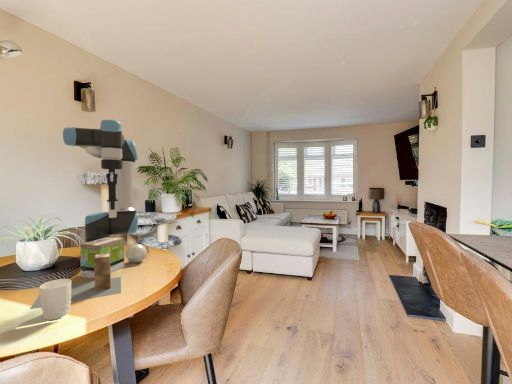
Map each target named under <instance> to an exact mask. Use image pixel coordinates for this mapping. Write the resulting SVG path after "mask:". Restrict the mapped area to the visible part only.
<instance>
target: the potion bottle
mask: <svg viewBox="0 0 512 384" xmlns="http://www.w3.org/2000/svg"><path fill="white" fill-rule="evenodd" d="M149 252H150V251H149V248H148V245H147V244H146V245H145V244H144V245H143V244H140V243H133V244H131V245H130V246H129V247H128V248H127V249H126V251H125V257H126V259H127V261H128V262H129V263H133V264H134V263H135V264H136V263H141V262H142V261H144V260H145V259H146V257H147V255H148V254H149Z"/></svg>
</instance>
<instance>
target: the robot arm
mask: <svg viewBox="0 0 512 384" xmlns="http://www.w3.org/2000/svg"><path fill="white" fill-rule="evenodd" d="M122 132H123V127H122V122H120V121H118V120H115V119H114V120H113V119H102V120H101V121H100V128H89V127H88V128H87V127H86V128H85V127H70V126H69V127H68V126H66V127H64V128H63V131H62V139H63V142H64V144H65V145H66V146H71V147H79V148H81V149H83V150H85V152H86V153H87V154H89V155H90V156H92V157H95V158H98V159H101V160H100V163H101V164H100V167H101V169H102V170H108V173H106V174H105V175H106V181H107V182H106V184H107V185H108V199H107V200H106V202H107V203H108V211H100V212H95V213H94V212H93V213H90V214H88V215H85V217H84V233H85V234H84V237H85V242H84V243H87V242H91V241H95V240H98V239H102V238H106V237H111V236H115V235H129V234H135V233H137V231H138V226H139V225H138V224H139V217H140V214H139V212H137V209H136V208H135V206H134V188H133V187H134V184H133V181H134V179H133V176H134V175H133V166H134V165H135V164H136V161H138V160H139V157H138V153H137V145H136V142H135V141H134V139H126V138H125V136H124V134H123V133H122Z"/></svg>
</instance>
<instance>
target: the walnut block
mask: <svg viewBox="0 0 512 384" xmlns="http://www.w3.org/2000/svg"><path fill="white" fill-rule="evenodd" d="M94 274H95V278H94V281H95V291H98V290H104V289H110V288H111V278H112V276H111V275H112V273H111V274H110V254H109V253H108V254H99V255H96V256H95V257H94Z"/></svg>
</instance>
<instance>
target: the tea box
mask: <svg viewBox="0 0 512 384" xmlns="http://www.w3.org/2000/svg"><path fill="white" fill-rule="evenodd" d="M108 253H109V254H110V274H111V275H112V274H113V273H115V272H116V271H119V270H123V268H124V269H125V238H124V237H111V236H110V237H106V238H102V239H98V240H95V241H91V242H87V243H85V242H83V243H80V277H81V278H90V279H95V274H94V257H95V256H96V255H99V254H108Z"/></svg>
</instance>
